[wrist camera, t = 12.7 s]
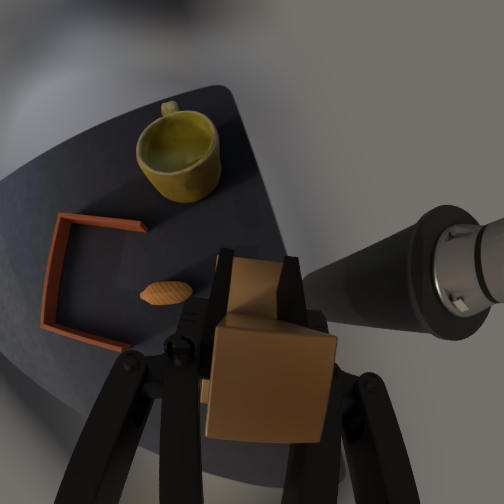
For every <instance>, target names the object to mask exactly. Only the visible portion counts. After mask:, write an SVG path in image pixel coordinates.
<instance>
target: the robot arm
mask: <svg viewBox="0 0 504 504" xmlns="http://www.w3.org/2000/svg"><path fill="white" fill-rule="evenodd" d="M233 258H234V249H228V248H221V249H220V253H219V257H218V262H217V266H216V271H215V275H214V280H213V284H212V289H211V293H210V298H209V299H204V298H197V297H190V298H189V299H188V300H187V301H186V302H185V303H184V306H183V310H182V313H181V317H180V320H179V323H178V327H177V330H176V334H173V335H171V336H169V337H168V338H167V339H166V340H165V343H164V350H165V353H163V354H161V355H157V356H146V357H145V356H144V355H143V354H142V353H140V352H138V351H134V350H129V351H125V352H123V353H122V354H120V355H119V357H118V358H117V359H116V361H115V363H114V365H113V367H112V369H111V371H110V373H109V375H108V377H107V379H106V381H105V383H104V385H103V387H102V389H101V391H100V393H99V396H98V398H97V400H96V402H95V404H94V406H93V408H92V410H91V413H90V415H89V417H88V419H87V421H86V424H85V426H84V428H83V431H82V433H81V435H80V437H79V440H78V442H77V444H76V447H75V449H74V452H73V454H72V456H71V459H70V461H69V464H68V466H67V469H66V471H65V474H64V477H63V479H62V482H61V485H60V487H59V490H58V493H57V496H56V499H55V502H54V504H118V503H119V500H120V497H121V494H122V491H123V488H124V485H125V482H126V479H127V475H128V473H129V470H130V467H131V464H132V461H133V458H134V455H135V452H136V449H137V446H138V444H139V441H140V438H141V435H142V432H143V430H144V427H145V424H146V421H147V418H148V416H149V413H150V410H151V408H152V405H153V402H154V400H155V399H158V398H162V410H161V428H160V458H159V460H160V461H159V495H160V496H159V499H160V504H204V498H203V482H202V463H201V438H200V386H199V384H200V378H201V379H205V380H210V374H211V365H212V356H213V347H214V338H215V329H216V327H217V325H218V324H219V323H220V321H221V320H222V319H223V318H224V316H225V315H226V314H227V307H228V300H229V293H230V285H231V276H232V267H233ZM430 278H431V284H432V288H433V291H434V294H435V296H436V299H437V301H438V302H439V304H440V305H441V307H442V308H443V309H444V310H445V311H446V312H447V313H448V314H450V315H452V316H454V317H470V316H473V315H475V314H477V313H479V312H481V311H483V310H485V309H486V308H488V307H490V306H492V305H494V304H496V303H504V218H502V219H500V220H497V221H494V222H492V223H489V224H487V225H484V226H482V225H469V224H456V225H453V226H451V227H448V228H446V229H444V230H443V231H442V232H441V233H440V234H439V235H438V237H437V238H436V240H435V242H434V244H433V247H432V251H431V256H430ZM276 301H277V319H278V320H282V321H285V322H288V323H292V324H295V325H299V326H302V327H306V328H309V329H313V330H316V331H320V332H323V333H327V334H329V331H328V326H327V321H326V318H325V316H324V315H323V313H322V312H321V311H317V310H306V304H305V297H304V291H303V284H302V278H301V272H300V266H299V259H298V257H291V256H285V257H284V262H283V266H282V270H281V274H280V278H279V282H278V286H277V291H276ZM341 435H342V440H343V444H344V449H345V453H346V458H347V463H348V467H349V472H350V477H351V482H352V487H353V492H354V497H355V503H356V504H420V500H419V496H418V491H417V487H416V483H415V479H414V476H413V472H412V468H411V465H410V461H409V458H408V454H407V451H406V447H405V444H404V441H403V437H402V434H401V431H400V428H399V425H398V422H397V419H396V416H395V413H394V410H393V407H392V404H391V401H390V398H389V395H388V392H387V390H386V387H385V384H384V382H383V380H382V378H381V377H379V376H378V375H377V374H375V373H371V372H367V373H364V374H362V375H361V376H360V377H359V376H355V375H352V374H349V373H346V372H344V371H342V370H341V369H340V367H339V366H338V365H337V364H336V363H334V369H333V376H332V382H331V388H330V394H329V400H328V405H327V411H326V416H325V421H324V426H323V430H322V435H321V440H320V442H316V443H290V450H289V457H288V464H287V470H286V477H285V483H284V489H283V495H282V501H281V504H337V496H338V484H339V471H340V454H341Z"/></svg>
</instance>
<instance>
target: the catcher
mask: <svg viewBox="0 0 504 504" xmlns="http://www.w3.org/2000/svg"><path fill="white" fill-rule="evenodd" d="M71 223H76V224H84V225H92V226H100V227H108V228H116V229H124V230H132V231H140V232H147V230H148V228H147V227H146V226H145V225H144V224H143V223H142V222H141V221H135V220H126V219H117V218H108V217H99V216H90V215H80V214H71V213H61V212H59V214H58V218H57V222H56V226H55V230H54V235H53V239H52V244H51V249H50V254H49V259H48V265H47V270H46V277H45V284H44V291H43V300H42V309H41V321H40V327H41V328H44V329H47V330H50V331H52V332H55V333H58V334H61V335H64V336H67V337H70V338H73V339H76V340H80V341H83V342H86V343H90V344H93V345H96V346H100V347H104V348H107V349H111V350H115V351H119V352H123V351H126V350H128V349H130V348H131V344H127V343H123V342H119V341H115V340H111V339H107V338H103V337H100V336H96V335H92V334H89V333H85V332H82V331H78V330H75V329H72V328H69V327H65V326H62V325H59V324H56V323H55V322H56V311H57V301H58V293H59V286H60V279H61V272H62V266H63V261H64V255H65V250H66V245H67V241H68V236H69V232H70V227H71Z"/></svg>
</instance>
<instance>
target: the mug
mask: <svg viewBox="0 0 504 504" xmlns="http://www.w3.org/2000/svg"><path fill="white" fill-rule="evenodd" d="M161 110H162V115H163V117H162V118H159V119H157V120H156V121H154V122H153V123H151V124H150V125H149V126H148V127H147V128H146V129H145V130H144V131H143V133H142V134H141V136H140V138H139V140H138V144H137V147H136V156H137V161H138V163H139V165H140V167H141V169H142V170H143V172H144V174H145V175H146V176H147V178H148V179H149V180H150V182H151V183H152V184H153V185H154V186H155V187H156V189H157V190H158V191H159V192H160V193H161V194H162V195H163V196H164V197H166V198H167V199H169V200H171V201H174V202H178V203H191V202H196V201H199V200H201V199H203V198H204V197H206V196H207V195H209V194H210V193H211V192H212V191H213V190H214V189H215V187H216V186H217V184H218V182H219V179H220V175H221V163H220V159H219V135H218V132H217V129H216V127H215V125H214V124H213V122H212V121H211V120H210V119H209V118H208V117H207V116H205V115H203V114H201V113H199V112H195V111H180V109H179V107H178V105H177V104H176V102H174V101H170V102H167V103H163V104H162V107H161Z"/></svg>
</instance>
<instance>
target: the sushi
mask: <svg viewBox="0 0 504 504" xmlns="http://www.w3.org/2000/svg"><path fill="white" fill-rule="evenodd" d="M192 292H193V291H192V288H191V287H190V286H189V285H187V284H186V283H183V282H178V281H165V282H155V283H153V284H150V285H149V286H148V287H147V288H146V290H145V291H143V292H142V293H141V294H140V297H141V299H143V300H146V301H147V302H149V303H150V304H153V305H165V304H167V305H168V304H175V303H180V302H182V301H184V300H186V299H188V298H189V297H190V296H191V295H192Z"/></svg>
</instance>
